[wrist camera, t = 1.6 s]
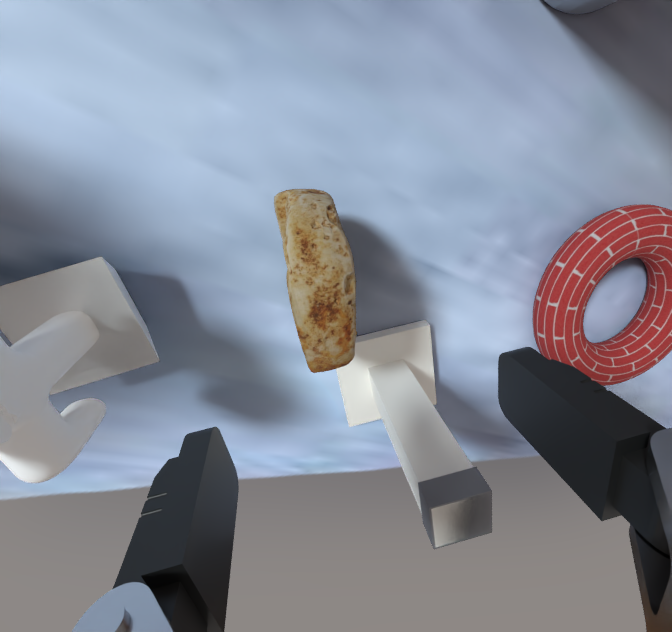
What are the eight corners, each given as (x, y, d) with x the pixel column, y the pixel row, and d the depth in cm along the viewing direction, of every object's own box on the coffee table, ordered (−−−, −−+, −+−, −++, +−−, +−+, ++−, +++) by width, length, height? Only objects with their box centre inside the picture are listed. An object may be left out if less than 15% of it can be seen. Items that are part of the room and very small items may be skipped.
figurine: (87, 377, 27) (-109, 602, 13) (6, 258, 23) (-396, 403, 9) (181, 348, 27) (84, 539, 13) (117, 226, 23) (-113, 320, 9)
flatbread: (344, 320, 28) (377, 395, 19) (297, 328, 28) (308, 408, 19) (327, 180, 24) (360, 190, 15) (272, 187, 23) (270, 202, 14)
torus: (521, 228, 28) (553, 237, 25) (688, 180, 28) (741, 182, 25) (524, 390, 34) (551, 414, 31) (660, 349, 35) (699, 368, 32)
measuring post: (425, 319, 29) (540, 441, 16) (432, 397, 33) (532, 548, 20) (330, 342, 29) (373, 486, 16) (347, 419, 32) (394, 588, 19)
